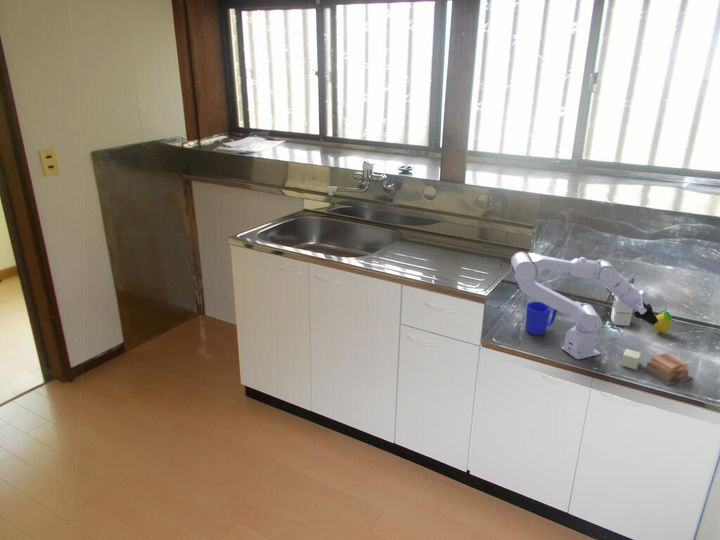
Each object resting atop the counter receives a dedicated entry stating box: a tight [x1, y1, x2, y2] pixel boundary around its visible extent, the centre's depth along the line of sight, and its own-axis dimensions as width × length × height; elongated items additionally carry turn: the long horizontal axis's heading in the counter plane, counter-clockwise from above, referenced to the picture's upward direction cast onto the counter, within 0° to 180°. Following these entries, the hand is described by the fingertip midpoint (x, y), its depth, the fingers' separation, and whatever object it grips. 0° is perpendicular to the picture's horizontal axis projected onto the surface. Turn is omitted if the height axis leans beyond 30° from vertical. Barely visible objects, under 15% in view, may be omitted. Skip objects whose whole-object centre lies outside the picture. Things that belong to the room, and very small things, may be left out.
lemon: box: [653, 307, 673, 334], centre depth 195 cm, size 7×6×10 cm
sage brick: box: [620, 348, 642, 370], centre depth 177 cm, size 4×4×4 cm
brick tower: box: [640, 352, 693, 386], centre depth 171 cm, size 10×10×5 cm
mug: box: [525, 301, 558, 336], centre depth 197 cm, size 8×12×10 cm
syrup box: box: [610, 283, 635, 327], centre depth 202 cm, size 6×6×14 cm
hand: (650, 317), depth 178 cm, fingers open, 7 cm apart
